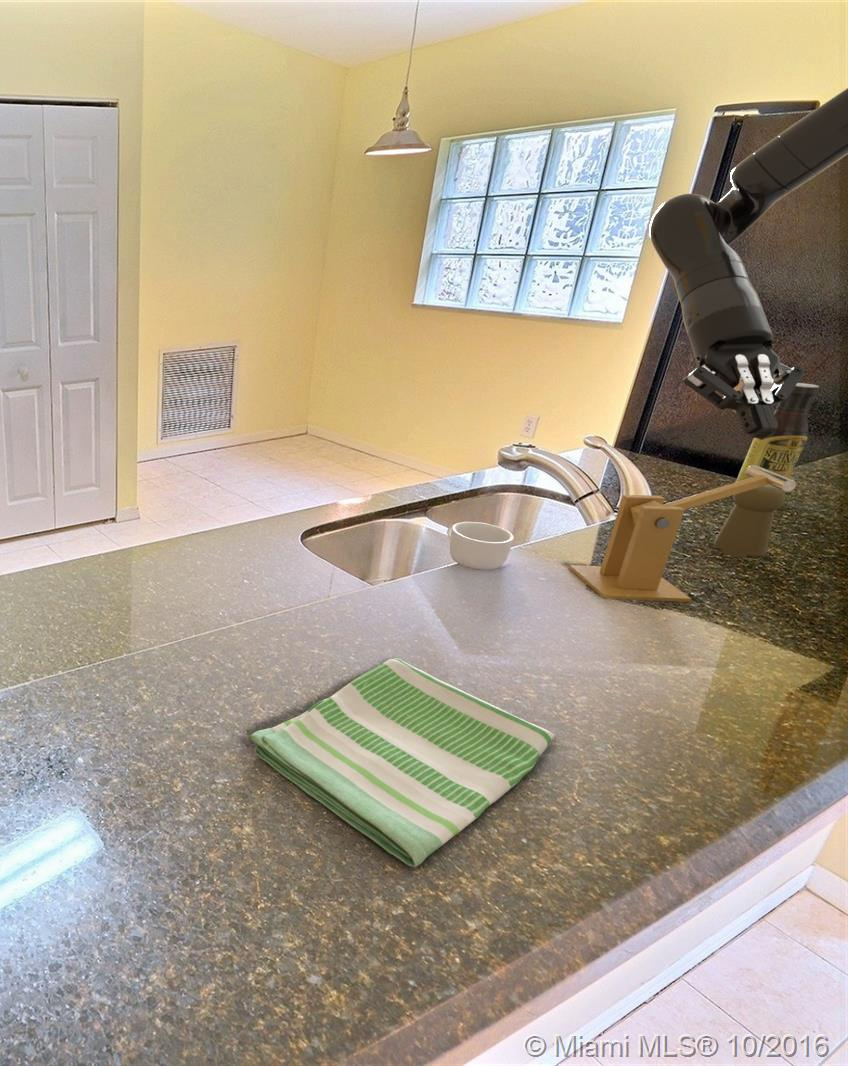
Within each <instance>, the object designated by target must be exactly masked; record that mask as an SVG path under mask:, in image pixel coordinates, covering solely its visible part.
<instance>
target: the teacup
mask: <svg viewBox="0 0 848 1066" xmlns="http://www.w3.org/2000/svg"><path fill="white" fill-rule="evenodd" d="M446 534H447V537H448V539H449V540H450V541H449V554H450V557H451V558H452V560H453V561H454V562H455V563H457V564H459V565H460V566H463V567H466V568H470V569H475V570H480V571H481V570H483V571H491V570H496V569H499V568H500V567H502V566H503V565H504V564H505V562H506V561H507V559H508V556H509V554H510V551H511V549H512V546H513V543H514V538H515V537H514V535H513V534H512V532H510V531H509V530H507V529H506V528H503V527H500V526H498V525H494V524H490V523H485V522H477V521H463V522H462V521H461V522H457V523H455V524H451V525H450V526H449V527H447V531H446Z"/></svg>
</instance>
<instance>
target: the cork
mask: <svg viewBox="0 0 848 1066" xmlns="http://www.w3.org/2000/svg"><path fill="white" fill-rule="evenodd" d="M732 496H733V497H732V499H733V502H734V503H735V505H734V506H733V508H732V510H731V511H730V513H729V515H728V517H727V518H726V520H725V522H724V523H723V525H722V527H721V529H720V530H719V532H718V534H717V535H716V537H715V539H714V541H713V545H714V546H715V547H714V546H713V547H712V548H713V549H714V550H715V551H716V552H719V553H721V554H724V555H728V556H731V557H735V558H742V559H749V560H759V559H760V557H762V556H765V555H766V554H767V552H768V547H769V541H770V536H771V532H772V527H773V522H774V517H775V512H776V511H777V510H779V509H781V507H782V506H783V505H784V504H785V501H786V494H785V491H783V490H781V489H778V488H776V487H774V486H771V485H765V486H761V487H758V488H755V489H751V490H748V491H745V492H742V493H738V494H735V495H732ZM758 557H759V558H758Z"/></svg>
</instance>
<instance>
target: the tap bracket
mask: <svg viewBox="0 0 848 1066" xmlns="http://www.w3.org/2000/svg"><path fill="white" fill-rule="evenodd" d="M654 500H655V501H657V502H658V503H660V504H662V505H664V502H665V500H666V498H665V497H663V496H662V495H645V494H644V495H643V494H642V495H641V494H635V495H634V494H623V495H622V497H621V500H620V503H619V507H618V510H617V513H616V517H615V519H614V523H613V526H612V530H611V533H610V536H609V538H608V543H607V546H606V548H605V549H606V550H605V553H604V556H603V559H602V563H601V566H600V565H577V564H576V565H575V564H570V565H569V567H568V569H569V570H570V571H571V572H572V573H573V574H574V575H576V576H577V577H578V578H579V579H581V580H582V581H583V582H584V583H585V584H586V585H587V586H589V587H590V588H591V589H592V590H593V591H594V592H595V593H596V594H598V595H599V596H600V597H601V598H602V599H605V600H606V599H608V600H609V599H610V600H633V601H653V602H654V601H657V602H678V603H679V602H680V603H691V601H692V598H691V597H690V596H688V595H687V594H686V593H684V592H683V591H681V590H680V589H679V588H678V587H676V586H674V585H673V584H672V583H671V582H669V580H666V579H665V578H663V574H664V572H665V569H666V566H667V563H668V560H669V557H670V554H671V551H672V549H673V546H674V543H675V540H676V536H677V534H678V531H679V528H680V525H681V523H682V519H683V516H684V513H685V511H686V510H685V509H683V508H681V507H667V506H641V508H640V511H639V515H638V518H637V521H636V524H634V523H633V518H632V514H631V509H630V508H631V507H635V506H638V505H641V504H644V503H647V502H651V501H654Z"/></svg>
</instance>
